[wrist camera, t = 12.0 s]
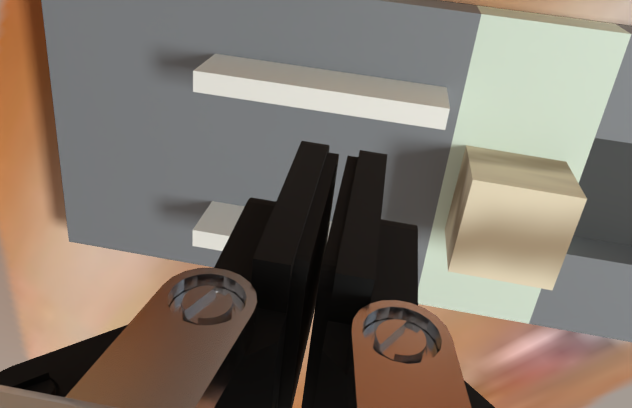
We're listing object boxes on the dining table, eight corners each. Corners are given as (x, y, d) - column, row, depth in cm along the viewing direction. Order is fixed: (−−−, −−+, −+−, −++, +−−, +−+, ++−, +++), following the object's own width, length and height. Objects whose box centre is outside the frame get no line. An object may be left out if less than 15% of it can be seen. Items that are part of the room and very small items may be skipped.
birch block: (466, 145, 36) (472, 179, 31) (566, 161, 35) (587, 199, 31) (444, 229, 39) (448, 271, 34) (537, 245, 38) (552, 290, 34)
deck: (63, -50, 37) (-8, -40, 31) (815, 50, 33) (905, 84, 27) (88, 222, 47) (38, 271, 40) (675, 324, 43) (718, 396, 36)
